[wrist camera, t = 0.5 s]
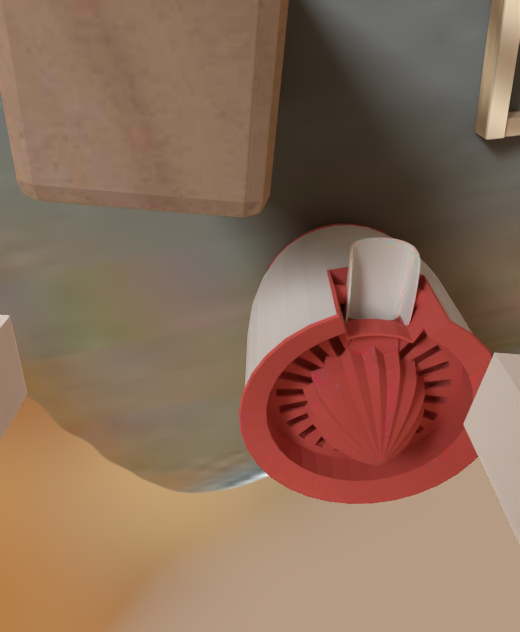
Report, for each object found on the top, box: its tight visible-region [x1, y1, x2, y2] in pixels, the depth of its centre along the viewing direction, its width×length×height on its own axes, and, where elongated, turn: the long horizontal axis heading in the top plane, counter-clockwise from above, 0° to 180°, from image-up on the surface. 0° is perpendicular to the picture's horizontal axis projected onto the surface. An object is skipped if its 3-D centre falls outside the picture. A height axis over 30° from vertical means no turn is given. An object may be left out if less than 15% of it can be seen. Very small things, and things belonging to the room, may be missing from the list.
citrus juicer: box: [239, 223, 493, 504], centre depth 35 cm, size 16×17×20 cm
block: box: [0, 0, 289, 217], centre depth 25 cm, size 10×10×20 cm
